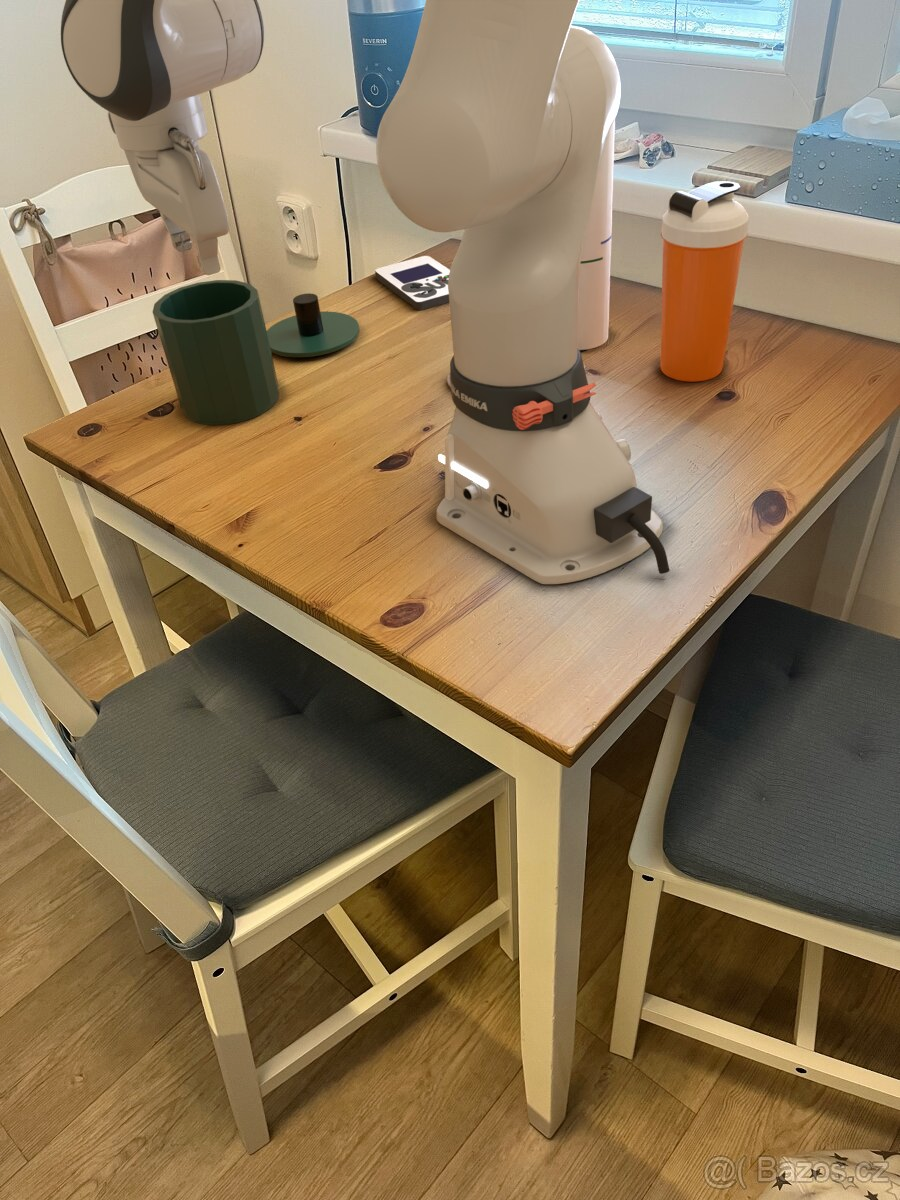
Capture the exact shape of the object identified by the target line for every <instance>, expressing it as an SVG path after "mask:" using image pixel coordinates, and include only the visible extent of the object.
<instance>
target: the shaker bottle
mask: <svg viewBox="0 0 900 1200" xmlns="http://www.w3.org/2000/svg"><path fill="white" fill-rule="evenodd" d="M740 189H741V185H740V184H739V183H738V182H734V181H729V180H727V181H725V180H724V181H723V180H722V181H721V180H719V181H712V182H708V183H706V184H704V185H703V184H702V185H700V186H699V187H696V188H695V189H692V190H690V191H688V192H684V191H681V190H676V191H674V192H673V193H672V194H671V195H670V197H669V199H668V206H667V207H668V208H667V209H666V212H664V214H662V217H661V218H662V219H661V231H660V237H661V238H662V271H661V272H662V273H661V274H662V275H661V281H662V282H661V283H662V284H661V323H660V324H661V326H660V370H661V373H663V374H664V375H665V376H666V377H668V378H670V379H673V380H676V381H681V382H689V383H690V382H691V383H692V382H693V383H695V382H696V383H697V382H704V381H709V380H712V379H714V378H716V377H717V376H719V375H720V374H721V373H722V371H723V367H724V361H725V356H726V350H727V344H728V339H729V332H730V326H731V321H732V316H733V315H732V313H733V308H734V302H735V296H736V291H737V284H738V279H739V273H740V267H741V261H742V254H743V248H744V243H745V239H746V238H747V237H748V229H749V222H750V220H749V219H750V215H749V214H748V212H747V209H746V208H745V207H744V205H742V203H740V202H738V201H737V200H736V199H734V195H735V193H736V192H739V191H740Z"/></svg>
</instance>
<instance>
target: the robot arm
mask: <svg viewBox="0 0 900 1200" xmlns="http://www.w3.org/2000/svg"><path fill="white" fill-rule="evenodd" d="M579 3H580V0H425V3H424V7H423V11H422V15H421V19H420V23H419V27H418V31H417V35H416V38H415V43H414V47H413V49H412V52H411V56H410V60H409V63H408V66H407V68H406V72H405V74H404V76H403V79H402V81H401V83H400V85H399V87H398V89H397V91H396V93H395V95H394V96H393V99H391V102H390V103H389V105H388V106H387V108H386V110H385V112H384V113H383V116H382V117H381V120H380V123H379V126H378V128H377V133H376V134H377V135H376V141H375V142H376V143H375V152H376V153H375V154H376V162H377V163H376V164H377V167H378V168H377V169H378V172H379V175H380V176H379V177H380V178H381V181H382V184H383V186H384V188H385V191H386V192H387V194H388V196H389V198H390V200H391V201H392V202H393V204H394V205H395V206H396V208H397V209H398V210H399V211H400V212H401V213H402V214H403V215H404V217H406V219H408V220H410V221H411V222H412V223H414V224H416V225H417V226H419V227H420V228H423V229H425V230H428V231H430V232H431V231H432V232H434V233H453V232H456V231H462V230H464V231H463V234H462V238H461V241H460V243H459V246H458V249H457V251H456V253H455V255H454V257H453V260H452V263H451V265H450V268H449V270H450V273H449V279H448V291H449V302H448V304H449V313H450V314H449V315H450V326H451V327H450V328H451V340H452V350H453V351H452V352H453V354H452V357H451V359H450V363H449V369H450V370H449V374H450V376H449V377H450V386H449V387H450V390H451V400H452V402H453V404H454V406H455V410H454V413H453V417H452V420H451V424H450V426H449V429H448V431H447V434H446V437H445V440H444V455H443V454H442V453H440V454H438V455H437V456H438V462H440V463H442V464H444V494H445V495H444V498H443V499H442V500H441V501H440V503H439V504H438V506H437V507H436V521H437V522H438V524H440V525H442V526H444V527H445V528H446V529H448V530H450V531H452V532H453V533H455V534H456V535H458V536H460V537H462V538H463V539H465V540H466V541H468V542H469V543H472V544H473V545H474V546H476V547H478V548H479V549H481V550H483V551H485V552H487V553H488V554H490V555H491V556H493V557H495V558H496V559H498V560H499V561H501V562H503V563H505V564H506V565H508V566H510V567H511V568H513V569H515V570H516V571H518V572H519V573H521V574H523V575H524V576H526V577H528V578H530V579H531V580H533V581H535V582H536V583H539V584H542V585H560V584H567V583H569V584H570V583H574V582H578V581H582V580H586V579H590V578H593V577H596V576H598V575H601V574H604V573H606V572H608V571H611V570H613V569H616V568H618V567H619V566H622V565H624V564H626V563H628V562H630V561H632V560H634V559H635V558H638V557H639V556H640V555H642V554H643V553H644V552H646V551H647V550H649V549H650V548H651V550H652V552H653V554H654V557H655V560H656V566H657V570H658V574H660V575H664V574H667V573H669V572H670V571H671V570H670V565H669V561H668V556H667V552H666V549H665V547H664V545H663V543H662V541H661V540H660V539H659V538H660V537H661V536H662V533H663V531H664V524H663V523H664V522H663V520H662V519H661V517H660V516H659V515H658V514H657V513H656V512H655V511H654V509H652V505H653V496H652V495H650V494H648V493H647V492H646V491H643V490H642V489H640V488H638V486H637V480H636V474H635V471H634V469H633V467H632V465H631V463H630V462H629V461H630V460H631V457H632V452H631V447H630V444H629V442H628V441H627V440H626V439H625V438H617V439H615V438H614V437H613V436H612V433H611V432H610V431H609V429H608V428H607V426H606V424H605V423H604V422H603V419H602V415H601V413H600V412H599V411H597V410H596V409H595V408H594V406H593V404H592V402H591V397H593V396H595V395H596V394H597V392H596V391H591V390H592V389H593V388H595V387H596V386H597V383H595V382H592V383H589V382H588V378H587V368H586V366H585V364H584V360H583V356H582V353H581V350H578V348H577V343H578V291H579V272H580V262H581V256H582V250H583V244H584V239H585V233H586V228H587V224H588V219H589V214H590V209H591V204H592V199H593V195H594V190H595V184H596V179H597V174H598V169H599V164H600V159H601V155H602V151H603V148H604V144H605V141H606V138H607V136H608V133H609V131H610V128H611V126H612V124H613V122H614V119H615V120H616V117H617V115H618V111H619V107H620V102H621V96H622V95H621V94H622V89H621V88H622V86H621V78H620V77H621V76H620V71H619V68H618V65H617V62H616V60H615V58H614V55H613V54H612V52H611V50H610V49H609V47H608V46H607V45H606V43H605V42H604V41H603V40H602V39H601V38H600V37H599V36H597V34H595V33H594V32H592V31H590V30H588V29H586V28H584V27H581V26H579V25H572V24H573V20H574V17H575V15H576V11H577V9H578V5H579ZM63 5H64V6H63V9H62V14H61V21H60V45H61V51H62V55H63V59H64V62H65V64H66V67H67V70H68V72H69V74H70V75H71V78H72V79H73V81H74V83H75V84H76V86H78V87H79V89H80V90H81V91H82V92H83V93H84V94H85V95H86V96H87V97H88V98H89V99H90V100H91V101H93V102H94V103H95V104H97V105H98V106H99V107H101V108H102V109H104V110H106V111H107V118H108V122H109V125H110V128H111V131H112V132H113V134H114V135H116V139H117V143H118V145H119V148H120V149H122V150H123V151H124V154H125V157H126V159H127V162H128V165H129V167H130V170H131V173H132V175H133V178H134V181H135V183H136V186H137V188H138V190H139V192H140V194H141V196H142V198H143V199H144V200H145V201H146V202H147V203H149V204H150V205H151V206H152V207H153V208H155V209H156V210H157V211H158V212H159V214H160V218H161V220H162V222H163V225H164V226H165V228H166V230H167V232H168V235H169V238H170V241H171V245H172V247H173V248H174V249H175V250H176V251H178V252H180V253H183V252H185V251H190V250H191V249H192V247H193V244H192V240H193V242H194V244H195V246H196V252H197V255H196V258H197V263H198V266H199V269H200V271H201V272H202V273H203V274H204V275H206V276H211V275H215V274H218V273H220V271H221V265H220V260H219V256H218V255H219V254H218V253H219V251H218V249H219V240H218V238H220V237H223V236H226V235H228V234H229V232H230V218H229V215H228V211H227V207H226V203H225V200H224V197H223V193H222V189H221V186H220V183H219V182H220V181H219V179H218V176H217V172H216V169H215V167H214V165H213V162H212V160H211V158H210V156H209V155H208V153H207V152H206V151H204V150H202V149H201V148H200V145H199V142H198V141H200V140H202V139H203V138H205V137H206V136H207V135H208V132H209V130H208V125H207V122H206V117H205V112H204V110H203V104H202V100H201V94H205V93H207V92H210V91H212V90H213V89H216V88H218V87H221V86H224V85H228V84H230V83H233V82H235V81H239V80H240V79H241V78H243V77H245V76H246V75H247V74H250V73H252V72H253V71H254V70H255V69H256V67H258V64H259V62H260V59H261V57H262V54H263V49H264V44H265V43H264V41H265V28H264V20H263V16H262V12H261V7H260V4H259V2H258V0H65V2H64V4H63ZM190 236H191V237H192V240H191V237H190Z"/></svg>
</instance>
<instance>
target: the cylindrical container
mask: <svg viewBox="0 0 900 1200" xmlns="http://www.w3.org/2000/svg"><path fill="white" fill-rule="evenodd" d="M615 132H616V118H615V119H614V122H613V124H612V126H611V128H610V131H609V133H608V136H607V138H606V141H605V144H604V148H603V151H602V155H601V159H600V164H599V169H598V174H597V179H596V184H595V190H594V195H593V199H592V204H591V209H590V214H589V219H588V224H587V228H586V233H585V239H584V244H583V250H582V256H581V262H580V272H579V291H578V343H577V348H578V350H579V351H584V350H591V349H595V348H598V347H601V346H603V345H604V344H605V343H606V342H607V341H608V339H609V323H610V293H611V291H610V288H611V263H612V262H611V260H612V259H611V258H612V234H613V232H612V230H613V199H614V197H613V196H614V166H615V165H614V164H615V163H614V162H615V137H616V135H615V134H616V133H615Z"/></svg>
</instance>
